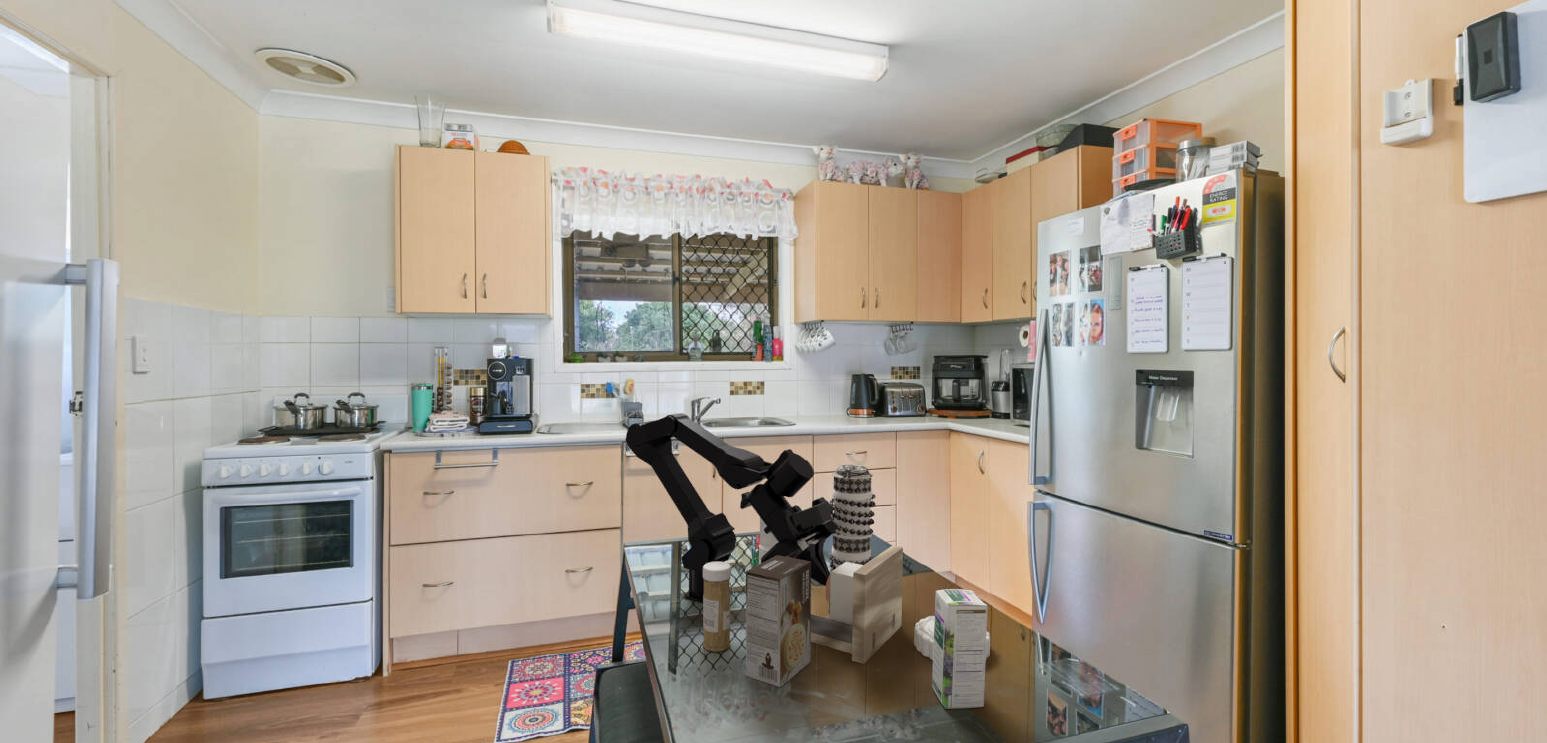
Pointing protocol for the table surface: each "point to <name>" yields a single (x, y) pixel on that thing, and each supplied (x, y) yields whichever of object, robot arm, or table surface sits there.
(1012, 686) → the table surface
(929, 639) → the mooncake
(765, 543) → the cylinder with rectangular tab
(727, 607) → the sprinkles bottle
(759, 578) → the coffee box
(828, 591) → the push knob
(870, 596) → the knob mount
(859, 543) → the decorative candle
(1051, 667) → the table surface
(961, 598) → the syrup box
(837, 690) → the table surface
